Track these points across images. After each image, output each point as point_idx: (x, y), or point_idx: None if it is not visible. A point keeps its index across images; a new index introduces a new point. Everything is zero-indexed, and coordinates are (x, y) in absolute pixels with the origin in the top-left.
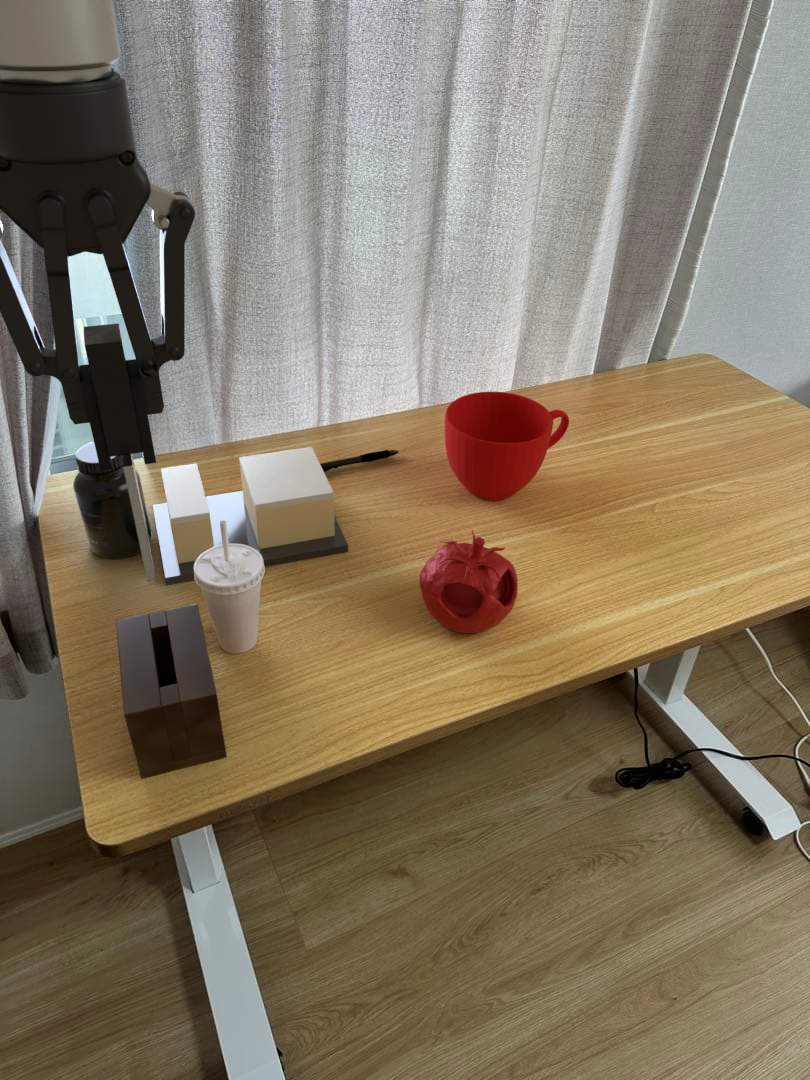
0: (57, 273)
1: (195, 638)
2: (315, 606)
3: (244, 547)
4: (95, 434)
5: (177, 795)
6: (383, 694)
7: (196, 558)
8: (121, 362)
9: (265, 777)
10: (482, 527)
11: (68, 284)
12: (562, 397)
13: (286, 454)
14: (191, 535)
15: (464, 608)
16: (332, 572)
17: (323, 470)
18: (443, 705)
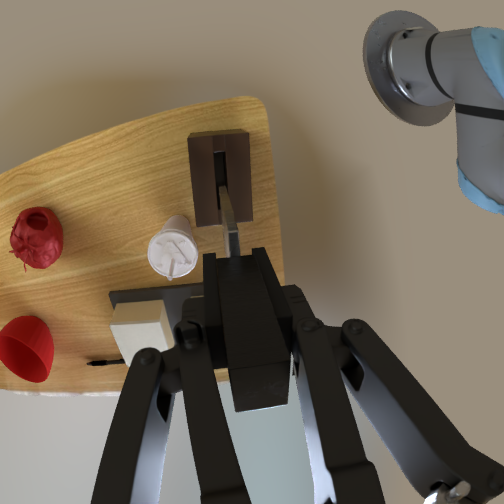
0: (351, 467)
1: (199, 193)
2: (129, 247)
3: (161, 271)
4: (270, 271)
5: (221, 113)
6: (94, 167)
7: (202, 296)
8: (231, 341)
9: (169, 115)
10: (38, 296)
11: (326, 453)
12: (16, 380)
13: None
14: None
15: (41, 221)
16: (118, 275)
17: None
18: (64, 155)
